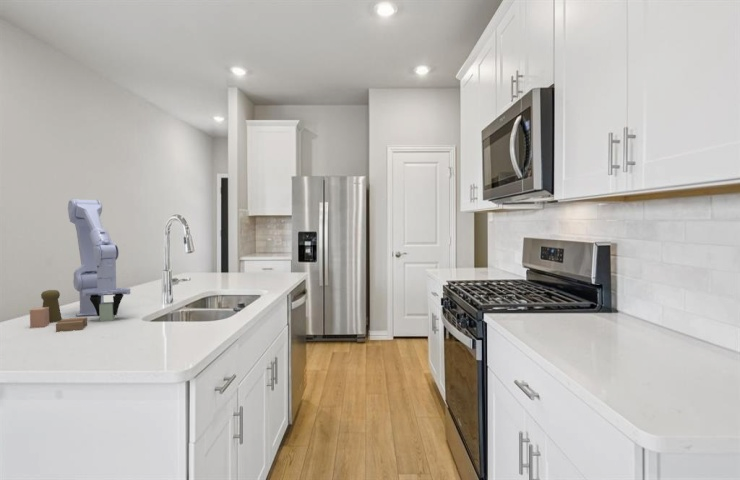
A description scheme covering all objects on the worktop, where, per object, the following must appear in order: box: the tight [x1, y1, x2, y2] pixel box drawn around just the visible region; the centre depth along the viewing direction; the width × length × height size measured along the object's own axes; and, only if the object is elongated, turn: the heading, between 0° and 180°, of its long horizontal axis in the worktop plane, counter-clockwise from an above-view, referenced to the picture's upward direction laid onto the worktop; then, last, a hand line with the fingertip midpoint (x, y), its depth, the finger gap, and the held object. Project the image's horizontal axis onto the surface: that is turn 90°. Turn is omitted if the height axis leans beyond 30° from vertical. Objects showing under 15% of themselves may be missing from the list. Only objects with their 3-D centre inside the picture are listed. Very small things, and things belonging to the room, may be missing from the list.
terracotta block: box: [29, 306, 50, 329], centre depth 138 cm, size 4×4×6 cm
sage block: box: [99, 301, 116, 322], centre depth 148 cm, size 4×4×6 cm
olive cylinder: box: [40, 289, 63, 324], centre depth 145 cm, size 6×6×11 cm
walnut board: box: [55, 316, 88, 333], centre depth 135 cm, size 7×7×3 cm
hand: (107, 315), depth 148 cm, fingers open, 4 cm apart
